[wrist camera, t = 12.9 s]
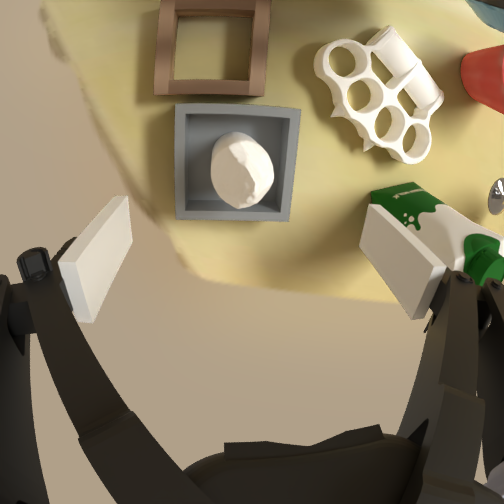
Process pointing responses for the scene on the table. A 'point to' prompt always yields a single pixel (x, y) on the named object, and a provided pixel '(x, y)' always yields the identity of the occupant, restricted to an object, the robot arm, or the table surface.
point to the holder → (211, 4)
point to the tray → (200, 155)
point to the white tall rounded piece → (240, 170)
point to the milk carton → (445, 231)
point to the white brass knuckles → (384, 92)
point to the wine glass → (497, 197)
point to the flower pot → (485, 76)
